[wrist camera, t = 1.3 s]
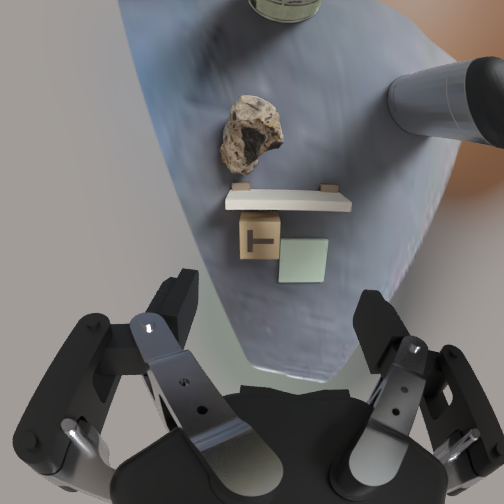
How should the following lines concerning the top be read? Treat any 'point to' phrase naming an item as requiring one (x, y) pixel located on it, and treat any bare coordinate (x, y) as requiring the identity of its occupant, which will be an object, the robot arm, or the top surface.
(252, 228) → the letter cube
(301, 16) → the coffee can
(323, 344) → the top surface
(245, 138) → the rock
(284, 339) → the top surface
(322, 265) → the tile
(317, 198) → the screen
